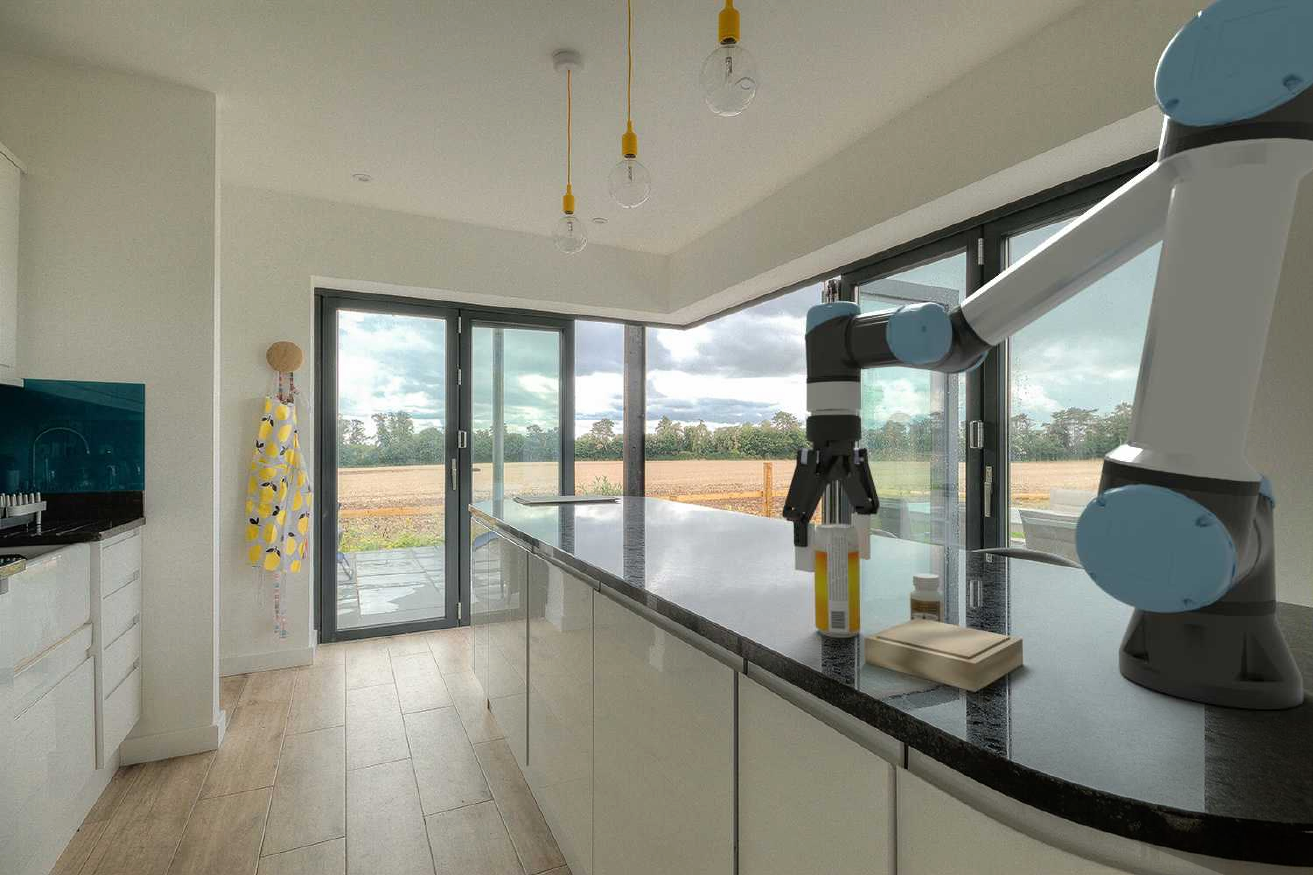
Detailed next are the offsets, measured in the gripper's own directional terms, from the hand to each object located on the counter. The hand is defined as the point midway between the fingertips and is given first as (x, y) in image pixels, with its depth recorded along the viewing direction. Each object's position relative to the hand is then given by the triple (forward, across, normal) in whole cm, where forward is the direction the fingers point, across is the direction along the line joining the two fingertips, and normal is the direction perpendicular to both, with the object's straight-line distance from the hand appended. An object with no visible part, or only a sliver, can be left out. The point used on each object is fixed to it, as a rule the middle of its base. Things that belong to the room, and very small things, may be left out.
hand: (834, 564), depth 91 cm
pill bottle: (+10, -10, +8) cm, 16 cm away
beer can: (+10, 0, 0) cm, 10 cm away
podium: (+9, +2, +16) cm, 19 cm away
